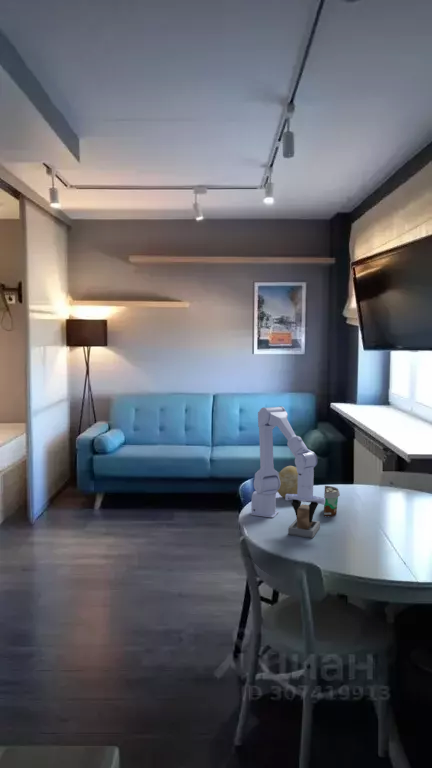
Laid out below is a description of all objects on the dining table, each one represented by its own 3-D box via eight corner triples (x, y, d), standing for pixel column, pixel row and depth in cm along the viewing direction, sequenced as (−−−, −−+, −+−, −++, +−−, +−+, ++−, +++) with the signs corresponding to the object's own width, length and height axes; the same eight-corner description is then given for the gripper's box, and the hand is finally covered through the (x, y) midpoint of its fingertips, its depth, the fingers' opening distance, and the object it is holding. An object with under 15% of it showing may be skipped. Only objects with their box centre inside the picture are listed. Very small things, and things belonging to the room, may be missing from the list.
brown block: (296, 527, 209) (297, 509, 208) (301, 522, 215) (302, 504, 215) (307, 529, 207) (308, 510, 207) (312, 523, 214) (312, 505, 213)
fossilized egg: (309, 499, 254) (310, 465, 253) (294, 505, 244) (295, 470, 243) (285, 493, 262) (286, 461, 261) (269, 499, 253) (270, 466, 251)
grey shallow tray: (288, 534, 208) (288, 528, 207) (296, 524, 219) (296, 518, 218) (312, 538, 204) (312, 531, 204) (319, 528, 215) (320, 521, 215)
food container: (339, 518, 227) (340, 493, 226) (323, 517, 228) (324, 492, 227) (339, 509, 239) (339, 486, 238) (324, 508, 240) (324, 485, 239)
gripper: (283, 485, 209) (282, 521, 210) (322, 489, 203) (321, 526, 205) (288, 480, 215) (287, 516, 217) (326, 485, 210) (325, 521, 211)
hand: (304, 521), depth 211 cm, fingers closed on brown block, 4 cm apart
